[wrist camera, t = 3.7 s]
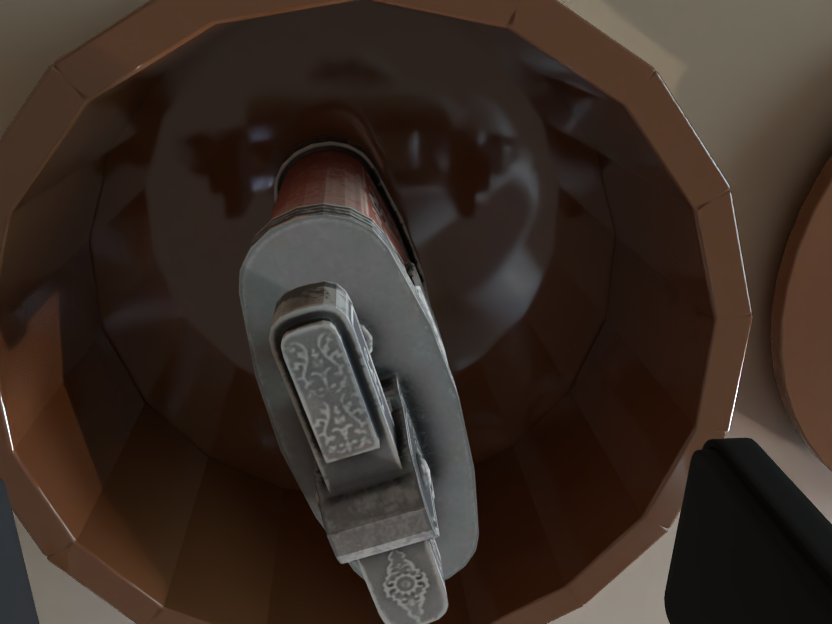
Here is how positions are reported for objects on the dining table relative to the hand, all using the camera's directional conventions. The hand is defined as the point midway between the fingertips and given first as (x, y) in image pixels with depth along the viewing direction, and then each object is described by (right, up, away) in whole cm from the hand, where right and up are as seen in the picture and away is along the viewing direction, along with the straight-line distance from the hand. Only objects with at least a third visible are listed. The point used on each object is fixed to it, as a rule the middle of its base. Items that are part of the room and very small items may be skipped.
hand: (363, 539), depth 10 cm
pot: (-1, +4, +10) cm, 11 cm away
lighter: (-1, +4, +10) cm, 11 cm away
